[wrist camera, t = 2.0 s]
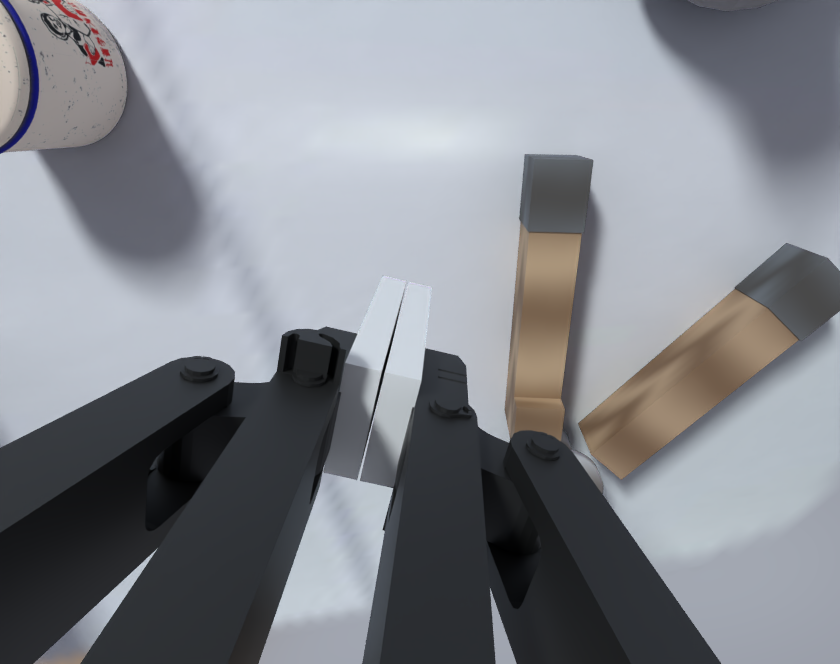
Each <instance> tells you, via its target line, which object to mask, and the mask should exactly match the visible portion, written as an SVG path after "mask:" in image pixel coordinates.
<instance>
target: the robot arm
mask: <svg viewBox="0 0 840 664" xmlns="http://www.w3.org/2000/svg"><path fill="white" fill-rule="evenodd" d="M405 285H406V281H404V280H400V279H396V278H391V277H387V276H383V277H382V279H381V281H380V283H379V286H378V288H377V290H376V293H375V295H374V297H373V300H372V302H371V304H370V306H369V309H368V311H367V313H366V316H365V318H364V320H363V323H362V325H361V327H360V330H359V332H358V334H356V333H351V332H347V331H343V330H338V329H334V328H330V327H324V328H322V329H319V330H313V329H296V330H292V331H288V332H286V333H285V334H283V335H282V340H281V346H280V353H279V360H278V367H277V372H276V373H275V375H274V376H273V378H272V379H271V381H270V382H265V383H239V382H234V379H235V371H234V370H233V369H232V368H231V367H230V365H228V364H226V363H224V362H222V361H220V360H216V359H212V358H210V357H204V356H203V357H201V356H193V357H188V358H180V359H177V360H175V361H172V362H169V363H167V364H165V365H163V366H161V367H159V368H157V369H155V370H153V371H151V372H149V373H147V374H146V375H144V376H142V377H140V378H138V379H136V380H134V381H132V382H130V383H128V384H126V385H124V386H122V387H120V388H118V389H116V390H114V391H112V392H110V393H108V394H106V395H104V396H102V397H100V398H98V399H96V400H94V401H92V402H90V403H88V404H86V405H84V406H82V407H80V408H78V409H76V410H74V411H72V412H70V413H68V414H67V415H65V416H63V417H61V418H59V419H57V420H55V421H53V422H51V423H49V424H47V425H45V426H43V427H41V428H39V429H37V430H35V431H33V432H31V433H29V434H27V435H25V436H23V437H21V438H19V439H17V440H15V441H13V442H11V443H9V444H7V445H5V446H3V447H1V448H0V664H33V663H34V662H35V661H36V660H38V659H39V658H40V657H41V656H42V655H43V654H44V653H45V652H46V651H47V650H48V649H49V648H50V647H52V646H53V645H54V644H55V643H56V642H57V641H58V640H59V639H60V638H61V637H62V636H63V635H64V634H66V633H67V632H68V631H69V630H70V629H71V628H72V627H73V626H74V625H75V624H76V623H77V622H79V621H80V620H81V619H82V618H83V617H84V616H85V615H86V614H87V613H88V612H89V611H90V610H91V609H93V608H94V607H95V606H96V605H97V604H98V603H99V602H100V601H101V600H102V599H103V598H104V597H105V596H107V595H108V594H109V593H110V592H111V591H112V590H113V589H114V588H115V587H116V586H117V585H118V584H119V583H121V582H122V581H123V580H124V579H125V578H126V577H127V576H128V575H129V574H130V573H131V572H132V571H133V570H135V569H136V568H137V567H138V566H139V565H140V564H141V563H142V562H143V561H144V560H145V559H146V558H147V557H149V556H150V555H151V554H152V553H153V552H154V551H155V550H156V549H157V548H158V549H157V550H156V552H155V553H154V555H153V556H152V558H151V559H150V561H149V562H148V564H147V565H146V567H145V568H144V570H143V571H142V573H141V574H140V576H139V577H138V579H137V580H136V582H135V583H134V585H133V586H132V588H131V589H130V591H129V592H128V594H127V595H126V597H125V598H124V600H123V601H122V603H121V604H120V606H119V607H118V608H117V610H116V611H115V613H114V614H113V616H112V617H111V619H110V620H109V622H108V623H107V625H106V626H105V628H104V629H103V631H102V632H101V634H100V635H99V637H98V638H97V640H96V641H95V643H94V644H93V646H92V647H91V649H90V650H89V652H88V653H87V655H86V656H85V658H84V659H83V661H82V662H81V664H258V663H259V660H260V657H261V654H262V652H263V649H264V645H265V643H266V640H267V637H268V634H269V631H270V628H271V625H272V623H273V620H274V617H275V614H276V611H277V608H278V605H279V602H280V599H281V597H282V594H283V591H284V588H285V585H286V582H287V579H288V576H289V573H290V571H291V568H292V565H293V562H294V559H295V556H296V553H297V550H298V547H299V544H300V542H301V539H302V536H303V533H304V530H305V527H306V524H307V521H308V518H309V516H310V513H311V510H312V507H313V504H314V501H315V498H316V495H317V492H318V490H319V487H320V481H321V476H322V471H323V467H324V464H325V467H324V473H329V474H333V475H338V476H342V477H346V478H351V479H355V480H357V478H358V474H359V471H360V467H361V463H362V459H363V455H364V451H365V447H366V444H367V440H368V436H369V432H370V428H371V424H372V421H373V417H374V413H375V409H376V405H377V409H376V413H375V417H374V422H373V426H372V431H371V435H370V439H369V444H368V448H367V452H366V457H365V461H364V465H363V470H362V474H361V478H360V481H364V482H369V483H373V484H378V485H382V486H387V487H391V488H393V492H392V496H391V500H390V504H389V507H388V511H387V515H386V519H385V523H384V527H383V530H384V531H385V534H384V540H383V545H382V551H381V557H380V563H379V569H378V575H377V581H376V587H375V592H374V598H373V604H372V610H371V616H370V622H369V628H368V634H367V640H366V645H365V651H364V657H363V663H362V664H495V651H494V637H493V625H492V624H493V623H492V611H491V597H490V588H491V591H492V594H493V597H494V600H495V602H496V605H497V608H498V611H499V614H500V617H501V620H502V623H503V625H504V628H505V631H506V634H507V637H508V640H509V643H510V646H511V648H512V651H513V654H514V657H515V660H516V663H517V664H721V663H720V661H719V660H718V658H717V657H716V655H715V654H714V653H713V651H712V650H711V648H710V647H709V646H708V644H707V643H706V641H705V640H704V638H703V637H702V636H701V634H700V633H699V631H698V630H697V628H696V627H695V626H694V624H693V623H692V622H691V620H690V618H689V617H688V616H687V614H686V613H685V611H684V610H683V609H682V607H681V606H680V604H679V603H678V601H677V600H676V599H675V597H674V596H673V594H672V593H671V591H670V590H669V589H668V587H667V586H666V584H665V583H664V581H663V580H662V579H661V577H660V576H659V575H658V573H657V572H656V570H655V569H654V567H653V566H652V564H651V563H650V561H649V560H648V559H647V557H646V556H645V554H644V553H643V552H642V550H641V549H640V547H639V546H638V544H637V543H636V542H635V540H634V539H633V537H632V536H631V534H630V533H629V532H628V530H627V529H626V527H625V526H624V524H623V523H622V522H621V520H620V519H619V517H618V516H617V514H616V513H615V512H614V510H613V509H612V507H611V506H610V505H609V503H608V502H607V500H606V499H605V497H604V496H603V495H602V493H601V492H600V490H599V489H598V487H597V486H596V485H595V483H594V482H593V480H592V479H591V477H590V476H589V475H588V473H587V472H586V470H585V469H584V467H583V466H582V465H581V463H580V462H579V460H578V459H577V458H576V456H575V455H574V453H573V452H572V451H571V450H570V449H569V448H568V447H567V446H566V445H565V444H564V443H562V442H561V441H559V440H558V439H556V438H555V437H554V436H552V435H547V433H544V432H537V431H532V430H521V431H518V432H516V433H514V434H513V436H512V437H511V439H510V442H509V443H508V442H505V441H503V440H501V439H498V438H496V437H494V436H492V435H490V434H488V433H486V432H485V431H483V430H482V429H480V428H479V427H478V423H477V416H476V413H475V411H474V410H473V409H472V408H471V407H470V406H469V405H468V390H467V377H466V376H467V374H466V365H465V364H464V363H463V362H462V360H461V359H460V358H459V357H458V356H456V355H452V354H447V353H443V352H439V351H435V350H430V349H426V348H425V345H426V336H427V327H428V318H429V309H430V300H431V291H432V287H429V286H425V285H421V284H417V283H412V282H408V286H407V289H406V293H405V297H404V301H403V305H402V309H401V312H400V316H399V311H400V307H401V303H402V298H403V294H404V290H405ZM398 316H399V320H398ZM397 320H398V324H397ZM396 324H397V328H396ZM395 329H396V332H395ZM394 333H395V335H394ZM393 337H394V339H393ZM392 342H393V343H392ZM391 346H392V347H391ZM390 350H391V351H390ZM382 382H383V383H382ZM381 386H382V387H381ZM380 390H381V391H380ZM379 394H380V396H379ZM378 397H379V400H378ZM377 401H378V404H377ZM325 461H326V462H325Z"/></svg>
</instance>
